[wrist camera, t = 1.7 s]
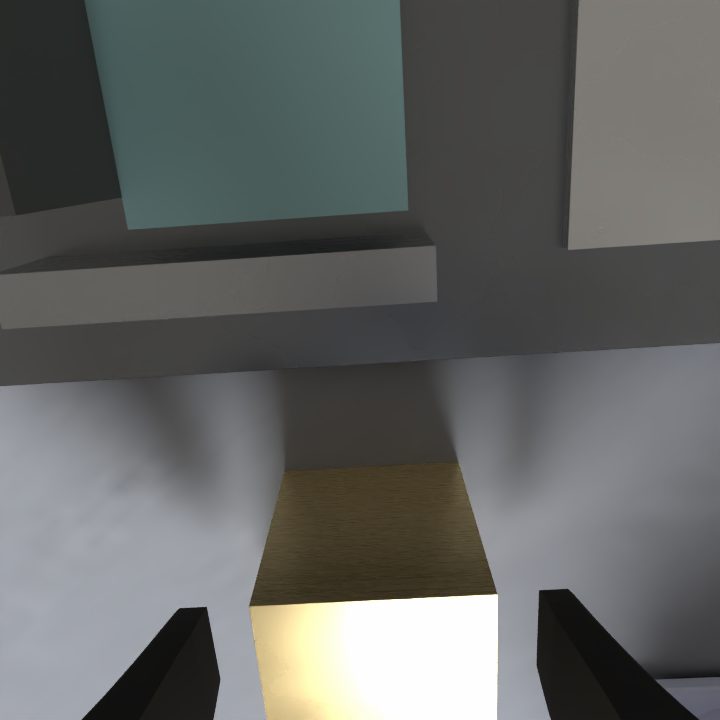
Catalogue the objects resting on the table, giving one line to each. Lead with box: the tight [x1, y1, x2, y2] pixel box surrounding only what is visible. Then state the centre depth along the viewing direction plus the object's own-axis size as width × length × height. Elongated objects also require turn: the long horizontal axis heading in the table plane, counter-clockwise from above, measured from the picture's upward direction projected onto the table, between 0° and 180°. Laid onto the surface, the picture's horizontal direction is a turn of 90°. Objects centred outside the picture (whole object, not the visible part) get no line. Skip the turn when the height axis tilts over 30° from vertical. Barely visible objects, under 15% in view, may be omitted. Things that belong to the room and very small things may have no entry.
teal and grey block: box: [0, 0, 408, 230], centre depth 8 cm, size 6×4×5 cm, turn 94°
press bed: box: [0, 0, 720, 386], centre depth 11 cm, size 20×11×3 cm, turn 94°
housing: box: [249, 462, 497, 720], centre depth 14 cm, size 4×4×5 cm
